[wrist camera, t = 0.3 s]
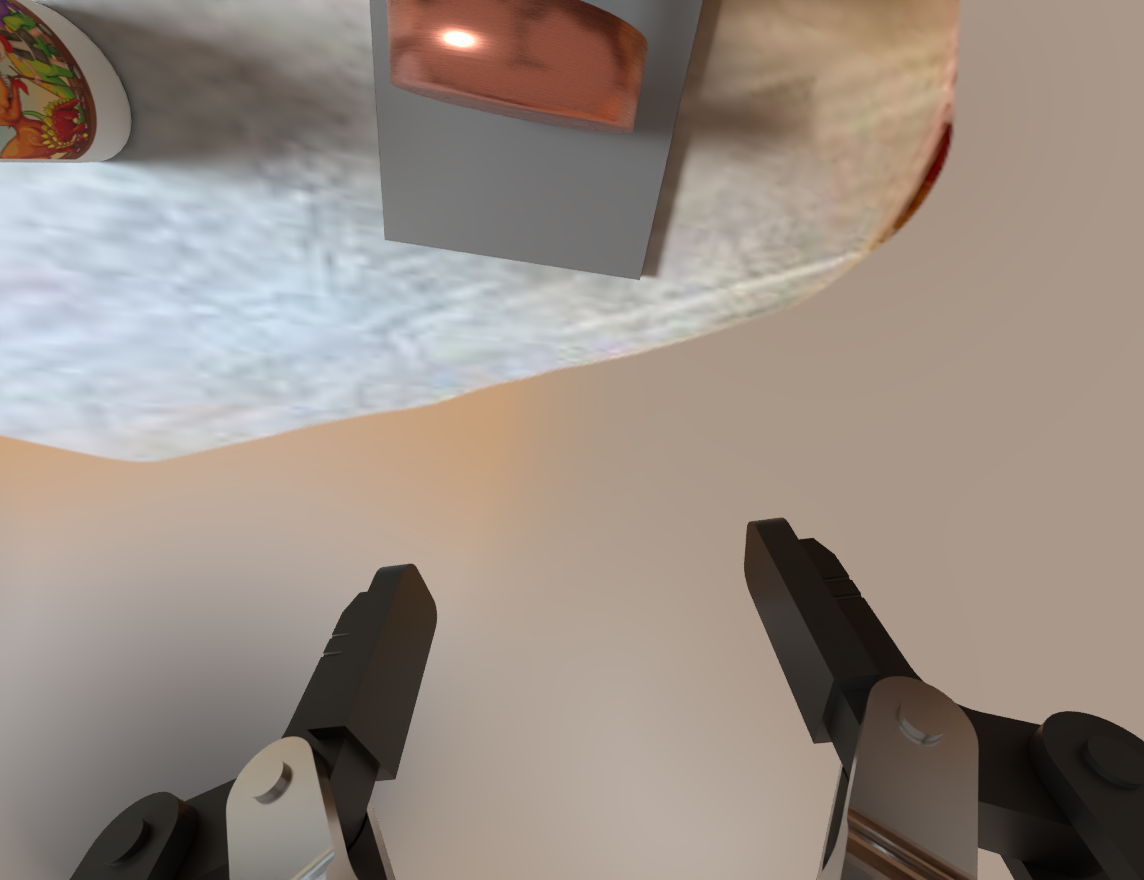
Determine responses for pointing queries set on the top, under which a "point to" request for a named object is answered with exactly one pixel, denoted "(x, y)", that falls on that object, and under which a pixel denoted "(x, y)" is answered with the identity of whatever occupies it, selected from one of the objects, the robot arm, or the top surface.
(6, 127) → the milk bottle
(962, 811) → the robot arm
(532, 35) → the copper disc with rod
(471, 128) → the base board
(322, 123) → the top surface
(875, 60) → the top surface
